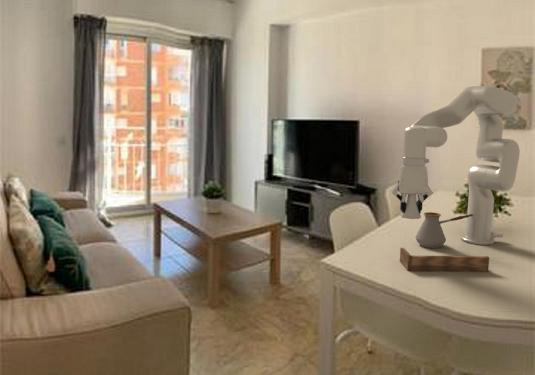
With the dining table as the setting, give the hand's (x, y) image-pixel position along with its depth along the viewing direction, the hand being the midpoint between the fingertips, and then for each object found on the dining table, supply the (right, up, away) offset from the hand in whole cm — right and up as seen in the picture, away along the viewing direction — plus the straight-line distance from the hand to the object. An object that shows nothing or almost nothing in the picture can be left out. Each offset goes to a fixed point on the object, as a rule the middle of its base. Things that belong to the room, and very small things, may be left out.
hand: (410, 212), depth 169 cm
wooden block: (+9, -19, -6) cm, 22 cm away
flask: (0, -2, 0) cm, 2 cm away
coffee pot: (+17, -15, +15) cm, 27 cm away
